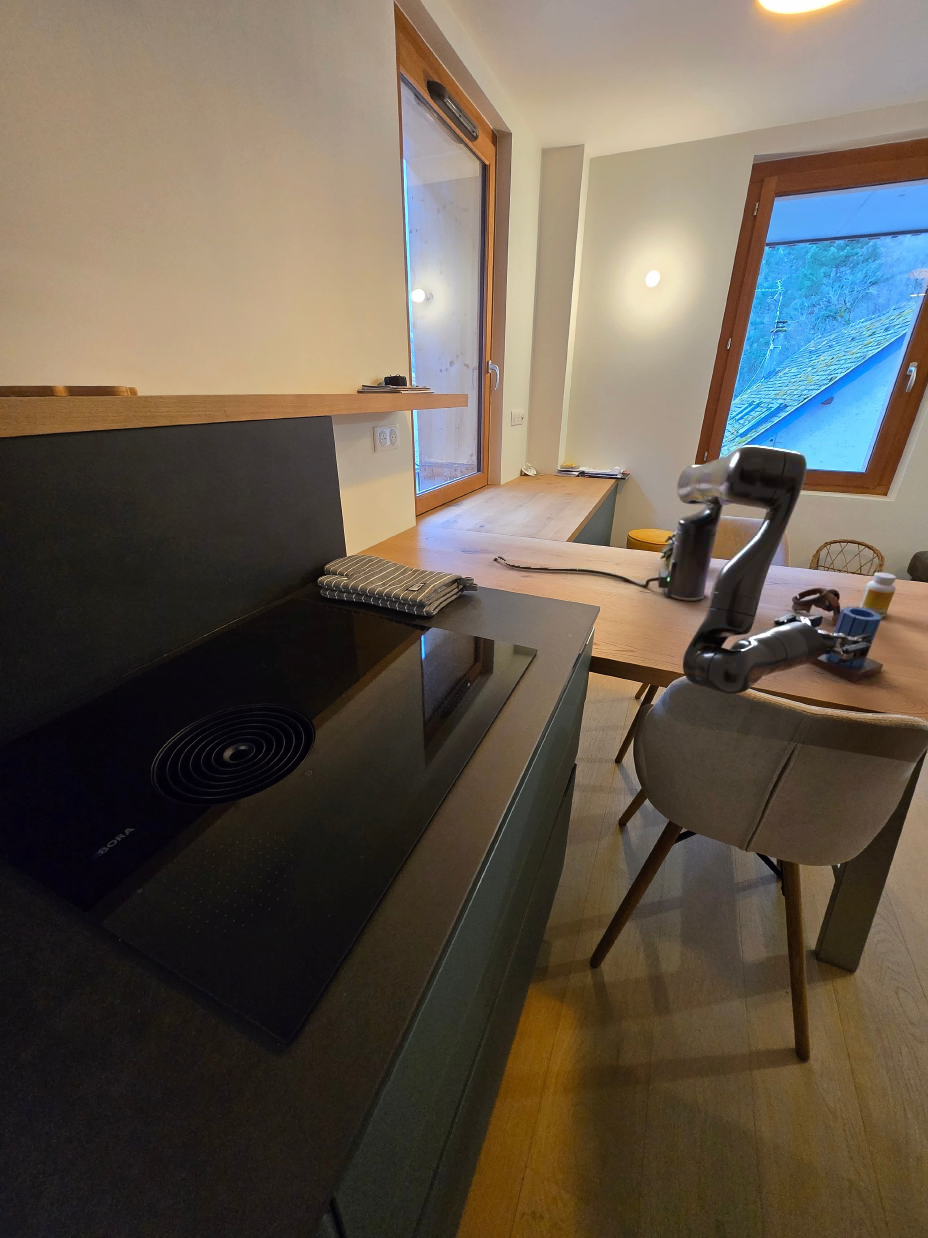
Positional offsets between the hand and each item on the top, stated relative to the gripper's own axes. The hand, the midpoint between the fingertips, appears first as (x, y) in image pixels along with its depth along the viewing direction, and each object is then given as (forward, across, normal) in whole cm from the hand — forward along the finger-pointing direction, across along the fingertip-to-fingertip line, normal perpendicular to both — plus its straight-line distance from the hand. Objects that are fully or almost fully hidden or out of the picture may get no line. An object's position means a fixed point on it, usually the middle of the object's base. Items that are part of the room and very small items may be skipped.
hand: (842, 629), depth 92 cm
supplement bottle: (+36, +12, +9) cm, 39 cm away
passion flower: (+21, +59, +9) cm, 63 cm away
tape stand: (+4, 0, +9) cm, 10 cm away
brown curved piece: (+22, +16, +9) cm, 29 cm away
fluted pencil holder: (+4, 0, +8) cm, 9 cm away
